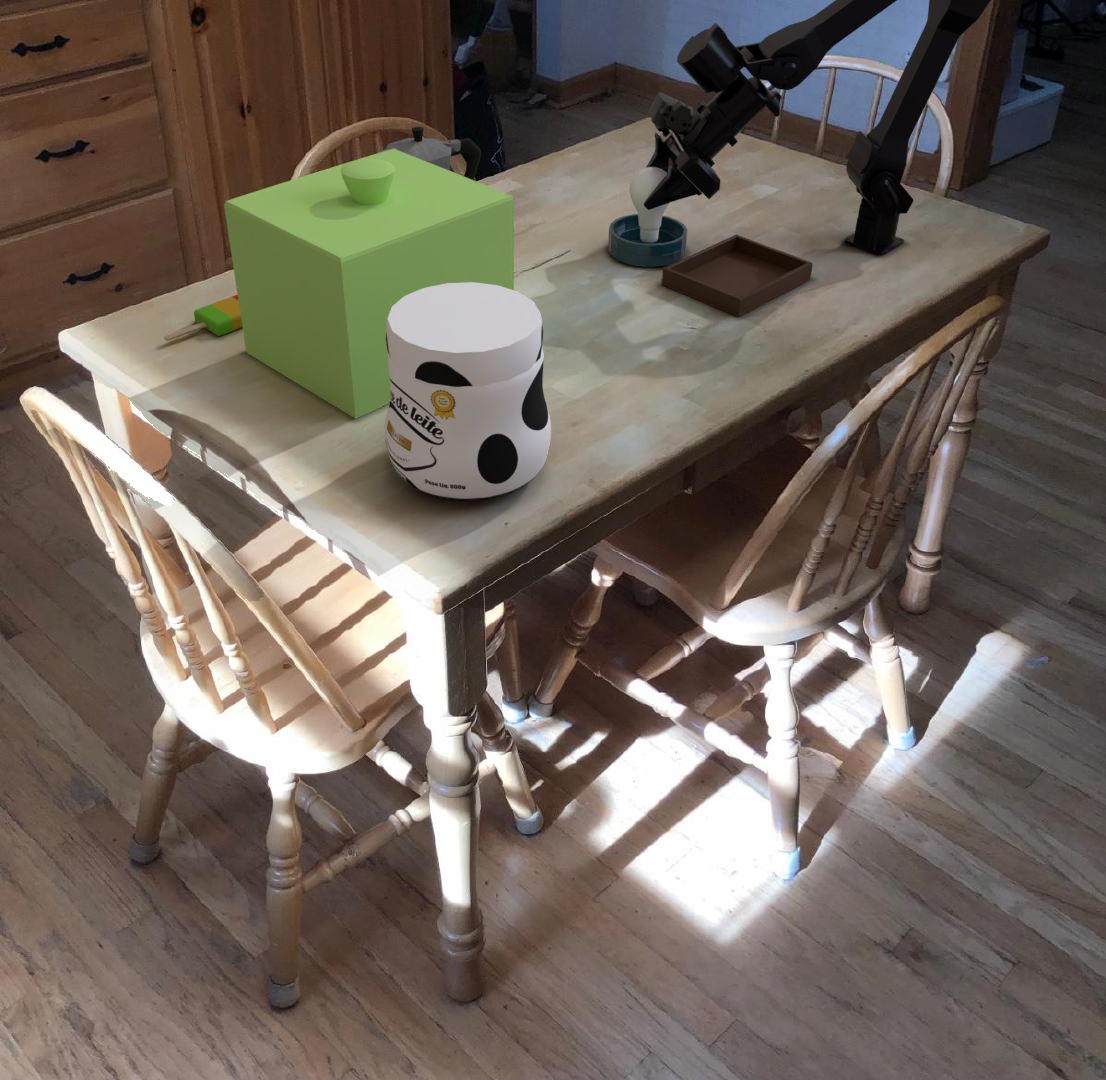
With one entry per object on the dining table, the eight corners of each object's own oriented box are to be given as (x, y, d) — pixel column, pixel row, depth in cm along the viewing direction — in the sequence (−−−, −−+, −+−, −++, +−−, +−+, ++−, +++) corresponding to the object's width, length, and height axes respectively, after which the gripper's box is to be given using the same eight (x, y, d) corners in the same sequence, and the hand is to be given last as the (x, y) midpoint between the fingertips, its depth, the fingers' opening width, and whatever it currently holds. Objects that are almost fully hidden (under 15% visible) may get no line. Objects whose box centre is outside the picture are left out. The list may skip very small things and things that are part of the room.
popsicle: (280, 314, 158) (278, 300, 157) (178, 353, 149) (175, 339, 148) (255, 300, 161) (253, 287, 160) (154, 338, 152) (151, 324, 151)
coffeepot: (388, 274, 168) (379, 144, 157) (369, 247, 175) (359, 121, 164) (493, 257, 173) (492, 130, 162) (471, 232, 179) (468, 108, 169)
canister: (402, 289, 164) (392, 117, 150) (513, 344, 152) (513, 163, 138) (246, 352, 150) (218, 168, 136) (355, 418, 138) (337, 224, 124)
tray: (734, 250, 176) (736, 234, 174) (810, 279, 169) (813, 262, 167) (661, 285, 167) (662, 267, 165) (738, 317, 159) (740, 299, 158)
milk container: (359, 494, 126) (343, 339, 115) (429, 413, 139) (421, 266, 128) (515, 531, 122) (514, 373, 111) (572, 443, 135) (577, 293, 124)
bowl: (642, 230, 181) (644, 207, 179) (700, 252, 175) (702, 229, 173) (592, 251, 175) (593, 228, 173) (650, 275, 169) (652, 252, 167)
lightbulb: (641, 256, 171) (645, 179, 164) (619, 240, 175) (622, 164, 169) (678, 247, 173) (683, 172, 167) (655, 232, 178) (660, 157, 171)
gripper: (673, 53, 168) (591, 136, 173) (703, 96, 153) (613, 185, 159) (724, 108, 173) (643, 187, 179) (757, 155, 159) (669, 240, 164)
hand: (641, 198), depth 170 cm, fingers closed on lightbulb, 6 cm apart
